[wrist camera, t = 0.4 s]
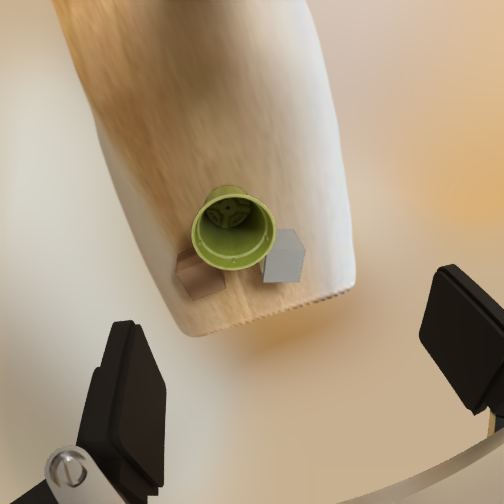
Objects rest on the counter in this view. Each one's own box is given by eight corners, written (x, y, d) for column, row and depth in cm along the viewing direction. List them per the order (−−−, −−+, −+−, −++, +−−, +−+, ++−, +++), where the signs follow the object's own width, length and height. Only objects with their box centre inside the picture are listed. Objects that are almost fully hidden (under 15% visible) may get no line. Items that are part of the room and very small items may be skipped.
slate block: (259, 228, 46) (266, 249, 40) (294, 229, 46) (305, 249, 41) (255, 259, 48) (262, 282, 43) (289, 259, 49) (299, 282, 44)
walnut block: (178, 253, 46) (176, 273, 41) (209, 241, 45) (210, 259, 41) (192, 280, 48) (192, 300, 44) (223, 268, 48) (225, 288, 44)
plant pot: (234, 157, 40) (242, 177, 33) (276, 210, 44) (291, 239, 37) (178, 201, 42) (173, 230, 34) (222, 248, 46) (227, 284, 39)
